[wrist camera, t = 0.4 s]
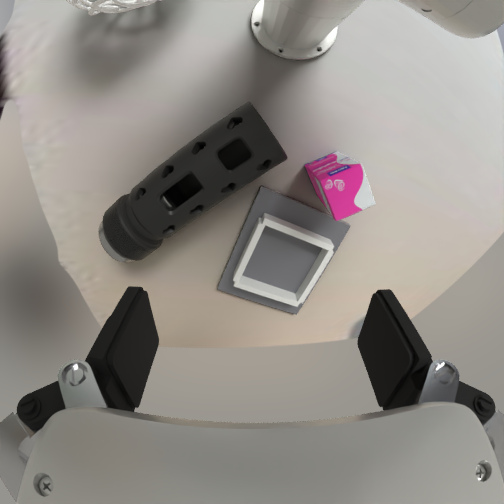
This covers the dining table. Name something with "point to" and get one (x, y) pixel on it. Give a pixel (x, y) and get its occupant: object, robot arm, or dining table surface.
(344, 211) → the supplement box
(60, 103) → the dining table surface
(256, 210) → the socket plate
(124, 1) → the decorative ball
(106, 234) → the muzzle brake
